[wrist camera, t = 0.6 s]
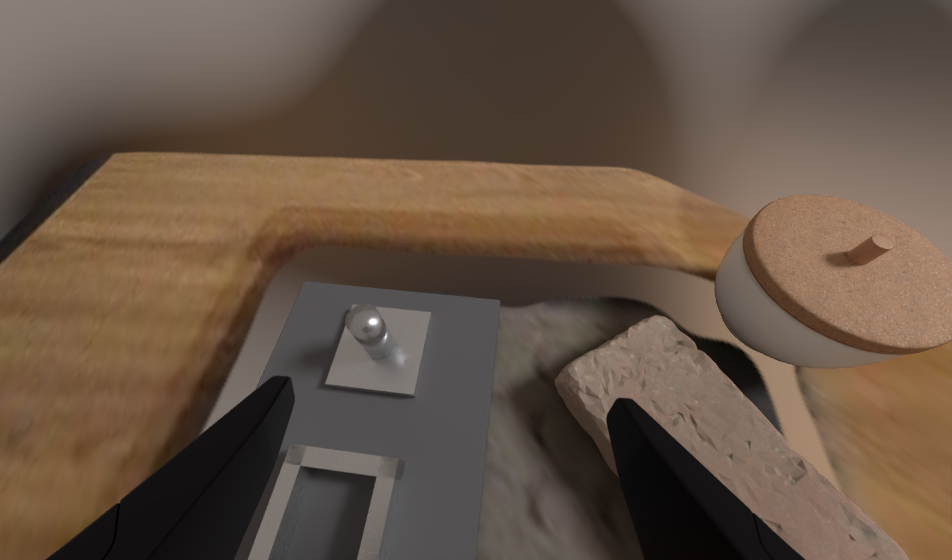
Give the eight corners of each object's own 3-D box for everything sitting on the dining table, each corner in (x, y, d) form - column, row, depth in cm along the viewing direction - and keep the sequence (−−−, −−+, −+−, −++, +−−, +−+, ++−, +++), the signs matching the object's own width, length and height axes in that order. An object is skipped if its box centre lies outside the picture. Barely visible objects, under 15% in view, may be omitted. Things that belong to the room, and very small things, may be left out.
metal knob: (415, 397, 23) (399, 374, 19) (329, 387, 24) (294, 361, 19) (432, 316, 26) (422, 280, 22) (356, 309, 27) (331, 272, 22)
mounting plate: (445, 878, 14) (443, 893, 13) (82, 793, 15) (67, 804, 14) (500, 304, 27) (500, 300, 27) (307, 285, 29) (304, 281, 28)
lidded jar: (838, 288, 28) (981, 204, 20) (850, 416, 23) (1050, 374, 15) (696, 244, 30) (773, 154, 22) (678, 351, 25) (769, 284, 17)
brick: (546, 384, 24) (558, 363, 20) (635, 328, 26) (662, 299, 22) (750, 683, 17) (835, 743, 13) (852, 571, 19) (953, 592, 15)
